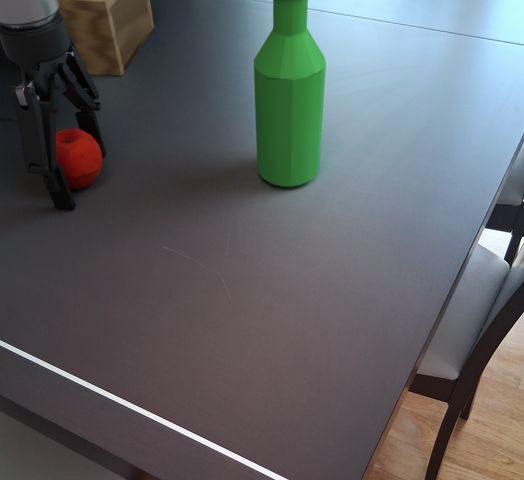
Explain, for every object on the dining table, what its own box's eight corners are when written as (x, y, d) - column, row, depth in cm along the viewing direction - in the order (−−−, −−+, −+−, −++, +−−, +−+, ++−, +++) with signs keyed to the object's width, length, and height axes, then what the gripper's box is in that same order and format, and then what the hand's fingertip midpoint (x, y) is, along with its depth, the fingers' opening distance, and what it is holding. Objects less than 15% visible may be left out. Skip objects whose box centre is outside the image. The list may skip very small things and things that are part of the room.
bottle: (253, 189, 79) (244, -12, 59) (261, 153, 84) (255, -42, 64) (317, 192, 78) (329, -10, 58) (320, 156, 83) (333, -41, 64)
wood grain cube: (36, 71, 102) (11, -3, 92) (77, 22, 114) (59, -47, 104) (121, 76, 100) (105, 1, 90) (154, 26, 112) (142, -44, 102)
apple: (73, 160, 84) (57, 113, 78) (119, 170, 82) (107, 123, 77) (41, 191, 80) (23, 144, 74) (90, 203, 78) (74, 155, 72)
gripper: (12, 68, 56) (75, 237, 73) (96, -25, 71) (133, 134, 88) (-58, 64, 57) (21, 232, 74) (39, -26, 71) (87, 131, 89)
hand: (82, 179), depth 81 cm, fingers open, 12 cm apart
